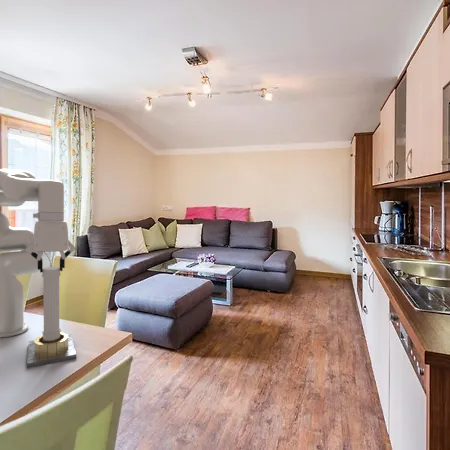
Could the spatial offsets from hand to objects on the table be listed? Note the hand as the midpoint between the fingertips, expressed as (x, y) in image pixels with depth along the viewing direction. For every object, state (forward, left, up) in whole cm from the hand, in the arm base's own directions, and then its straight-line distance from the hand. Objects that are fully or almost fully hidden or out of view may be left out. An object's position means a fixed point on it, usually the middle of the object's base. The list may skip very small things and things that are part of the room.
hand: (51, 270), depth 107 cm
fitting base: (-2, 0, -29) cm, 29 cm away
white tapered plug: (0, 0, -24) cm, 24 cm away
